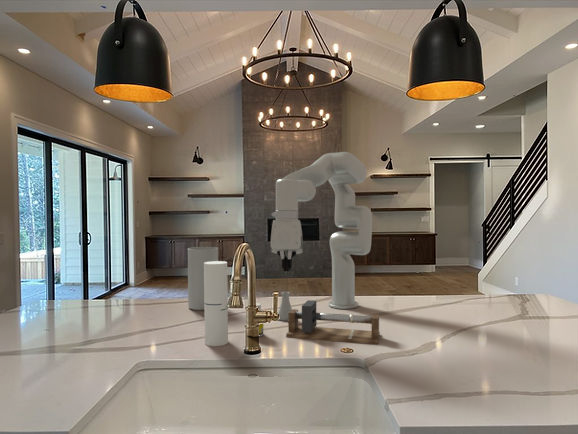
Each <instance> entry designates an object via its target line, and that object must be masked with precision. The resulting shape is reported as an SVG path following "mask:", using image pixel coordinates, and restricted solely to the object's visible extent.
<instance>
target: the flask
mask: <svg viewBox="0 0 578 434" xmlns="http://www.w3.org/2000/svg"><path fill="white" fill-rule="evenodd" d="M291 305H292V304H291V302H290V291H282V292H281V301H280V305H279V309H278V312H277V314H279V316H280V319H279V320H278V321H283V322H287V321H288V313H289V312H290V311H291V310H292V309H293V308H292V306H291Z"/></svg>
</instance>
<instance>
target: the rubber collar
mask: <svg viewBox="0 0 578 434" xmlns="http://www.w3.org/2000/svg"><path fill="white" fill-rule="evenodd" d="M301 312H302V319H301V326H302V332H312V330H313V329H314V328H315V327H317V325H318V324H317V321H318V320H312V312H315V313H317V300H310V299H309V300H307V301H305V302H304V303H303V304H302V305H301Z"/></svg>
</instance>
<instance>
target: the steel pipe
mask: <svg viewBox="0 0 578 434" xmlns="http://www.w3.org/2000/svg"><path fill="white" fill-rule="evenodd" d="M295 318H296V319H298V320H302V311H299V310H298V311H296V313H295ZM371 318H372V315H360V314H352V313H350V314H345V313H328V312H316V313H315V312H312V320H317V321H322V322H339V323H350V324H368V325H371Z"/></svg>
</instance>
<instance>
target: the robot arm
mask: <svg viewBox="0 0 578 434" xmlns="http://www.w3.org/2000/svg"><path fill="white" fill-rule="evenodd" d="M367 176H368V173H367V169H366V166H365V164H364V163H363V162H362V161H360V160H359V158H357V156H355V155H354V154H352V153H351V152H348V151H340V152H328V153H324V154H323V155H321V156H320V157H319V158H318V159H317V160H315V161H314V162H313V163H312V164H310V165H309V166H306V167H303V168H301V169H298V170H295V171H293V172H291V173H289V174H287V175H285V176H284V177H283V178H281V179H277V180H276V182H275V211H274V212H271V217H273V218H274V219H273V220H272V225H271V233H270V248H271V251H270V252H271V253H273V254H276V255H278V256H279V258H280V259H281V268H282V269H283V272H290V271H291V269H292V267H293V259H294V257H295V256H296V255H300V254H303V252H304V250H303V243H304V242H303V241H304V240H303V231H302V223H301V220H300V219H299V202H309V201H312V200H313V199H314V198H315V196H316V194H317V188H316V187H320V186H322V185H324V184H325V183H326V182H327V181H328V182H329V185H330V186H331V188H332V189H333V191H334V199H335V201H334V202H335V203H334V224H335V226H336V227H337V228H340V229H352V230H353V229H354V230H355V229H357V231H345V230H344V231H336V232H333V233H332V234H331V235H330V237H329V248H330V253H331V254H330V255H331V280H332V281H331V288H332V289H331V294H332V295H331V298H332V299H331V300H330V301H329V302H328V306H329V307H330V308H334V309H339V310H340V309H341V310H349V309H351V310H352V309H356V308H358V307H359V302H357V301H356V299H355V298H356V294H355V293H356V292H355V291H356V290H355V288H356V284H355V282H356V281H355V279H356V278H355V274H356V273H355V268H356V267H355V262H354V260H353V258H352V256H351V255H354V256H366V255H368V254H369V253H370V252H371V249H372V248H371V247H372V239H373V238H372V236H373V233H372V232H373V215H372V214H373V213H372V210H371V209H370V208H369V207H367V206H366V205H356V194H355V190H354V189H353V188H352V187H351V186H350V185H356V184H357V185H358V184H362V183H364V181H366V179H367ZM286 251H288V252H286Z"/></svg>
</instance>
